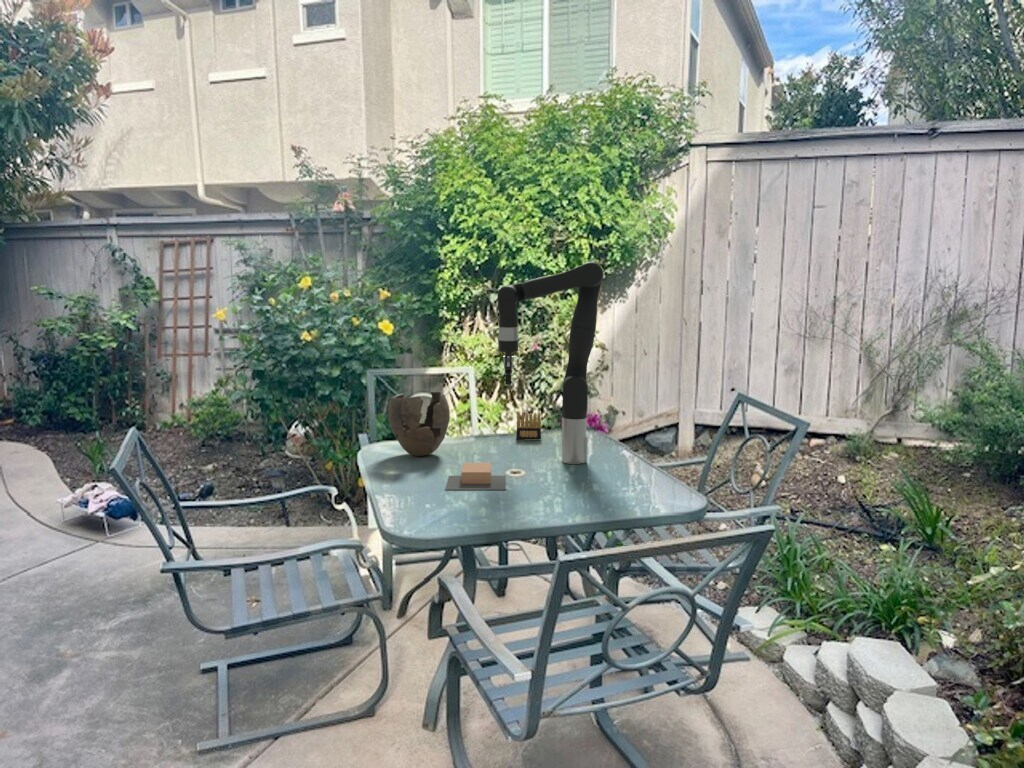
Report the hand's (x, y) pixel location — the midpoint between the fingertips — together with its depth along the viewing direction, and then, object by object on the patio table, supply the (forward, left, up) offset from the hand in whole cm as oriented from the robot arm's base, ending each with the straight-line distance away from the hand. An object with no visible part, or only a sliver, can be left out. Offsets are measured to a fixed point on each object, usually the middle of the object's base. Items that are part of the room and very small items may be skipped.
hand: (508, 384), depth 270 cm
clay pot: (+35, -5, -29) cm, 46 cm away
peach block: (+11, +23, -27) cm, 37 cm away
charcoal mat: (+11, +33, -29) cm, 45 cm away
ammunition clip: (-9, -31, -29) cm, 44 cm away
